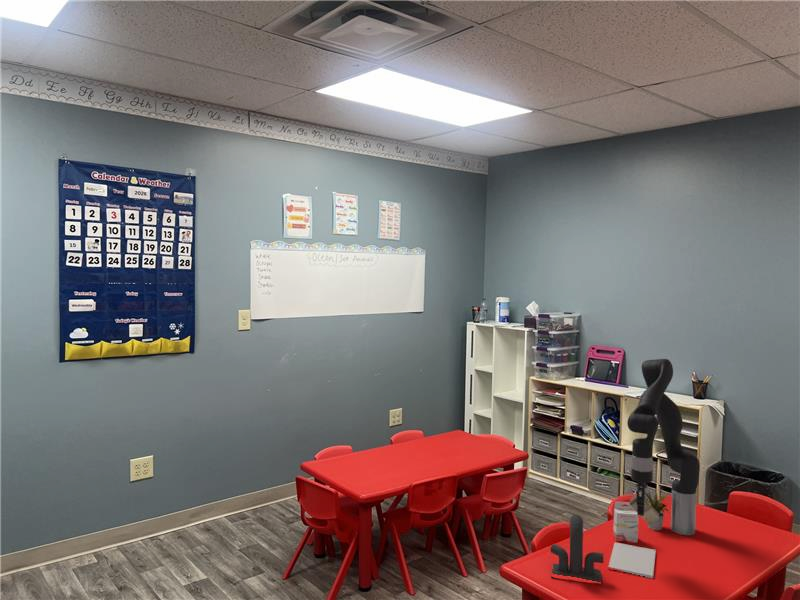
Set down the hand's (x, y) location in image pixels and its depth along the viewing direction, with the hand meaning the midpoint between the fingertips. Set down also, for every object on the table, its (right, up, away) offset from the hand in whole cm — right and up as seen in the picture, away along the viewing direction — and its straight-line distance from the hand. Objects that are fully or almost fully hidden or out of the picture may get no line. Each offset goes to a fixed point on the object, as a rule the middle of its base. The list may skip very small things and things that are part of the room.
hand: (641, 512), depth 224 cm
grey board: (-3, -19, +1) cm, 19 cm away
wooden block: (+4, -2, -2) cm, 5 cm away
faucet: (-26, -19, -7) cm, 33 cm away
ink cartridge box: (+1, -18, +19) cm, 26 cm away
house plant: (+17, -18, +30) cm, 39 cm away
